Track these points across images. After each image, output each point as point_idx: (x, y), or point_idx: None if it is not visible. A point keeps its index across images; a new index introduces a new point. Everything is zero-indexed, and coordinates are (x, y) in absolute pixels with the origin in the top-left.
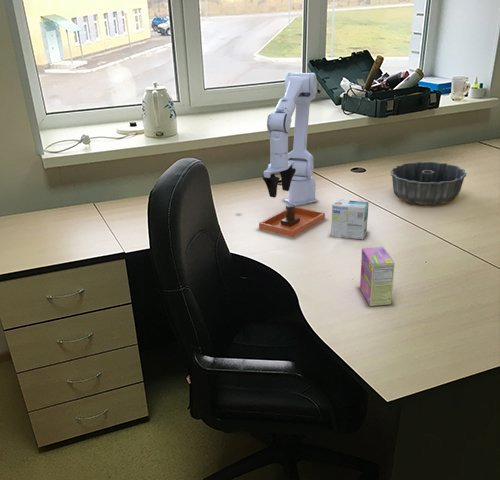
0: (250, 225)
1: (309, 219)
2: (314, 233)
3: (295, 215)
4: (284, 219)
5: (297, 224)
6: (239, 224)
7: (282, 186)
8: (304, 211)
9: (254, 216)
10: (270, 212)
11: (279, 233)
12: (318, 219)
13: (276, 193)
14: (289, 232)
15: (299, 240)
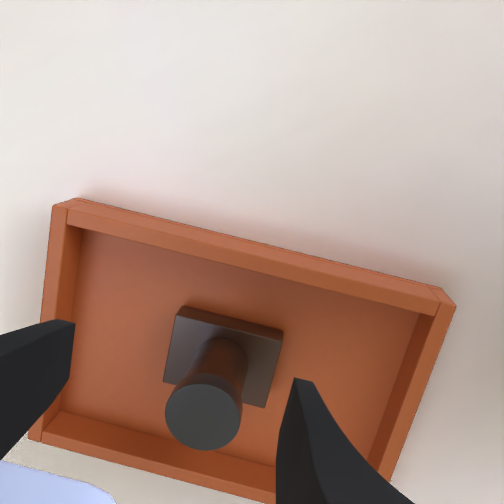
0: (124, 108)
1: None
2: (160, 488)
3: (370, 335)
4: (197, 331)
5: None
6: (109, 21)
7: (295, 395)
8: (399, 398)
9: (292, 56)
10: (408, 139)
11: None
12: None
13: (44, 409)
14: None
15: (47, 445)
